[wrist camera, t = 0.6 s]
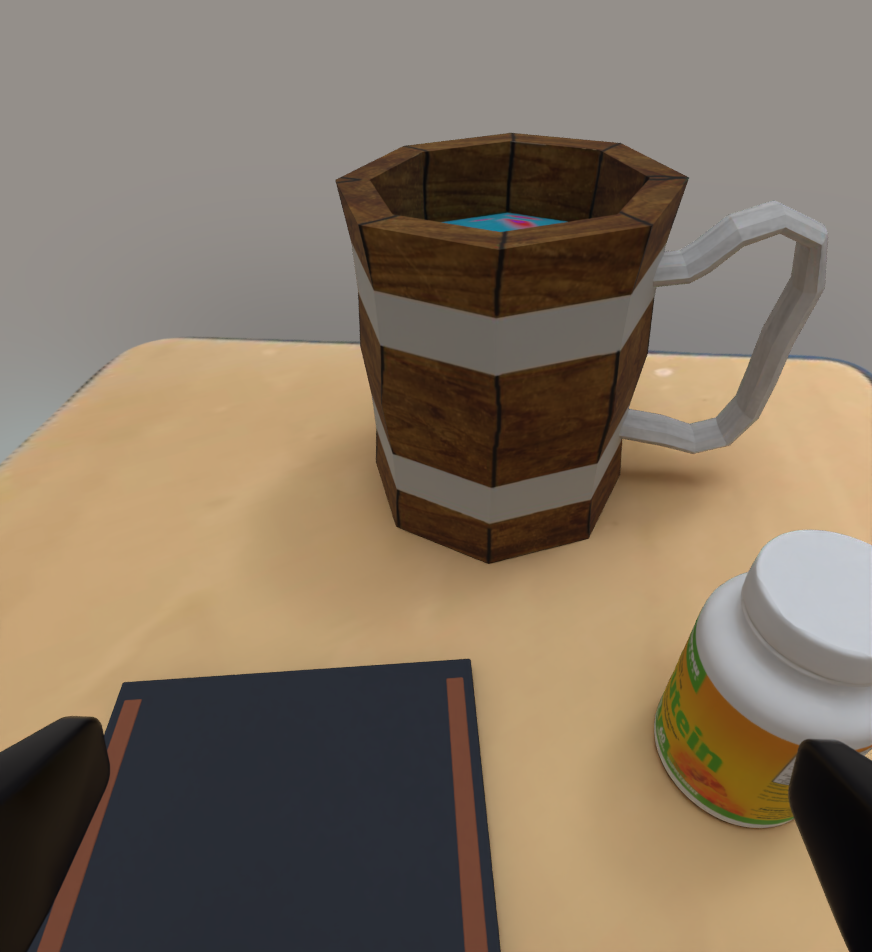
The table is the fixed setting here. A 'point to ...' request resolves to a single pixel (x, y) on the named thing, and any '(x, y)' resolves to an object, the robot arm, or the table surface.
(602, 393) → the mug
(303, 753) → the placemat
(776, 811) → the supplement bottle
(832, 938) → the table surface
